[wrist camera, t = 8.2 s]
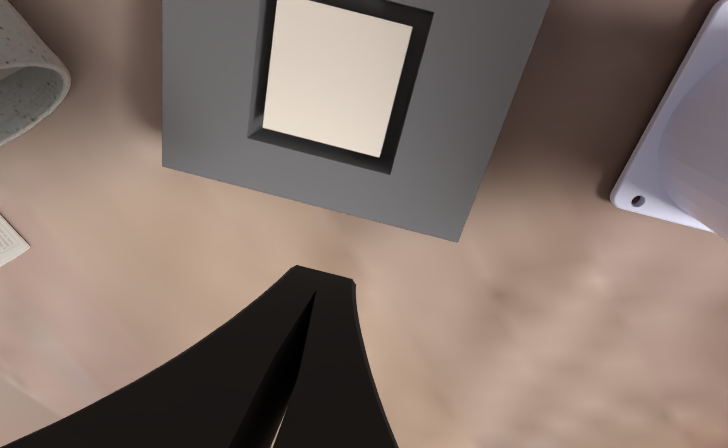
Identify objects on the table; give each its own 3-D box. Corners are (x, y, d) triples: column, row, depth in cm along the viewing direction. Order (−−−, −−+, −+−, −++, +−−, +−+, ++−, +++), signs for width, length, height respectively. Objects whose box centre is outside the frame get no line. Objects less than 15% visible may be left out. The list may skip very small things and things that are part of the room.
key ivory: (412, 26, 15) (412, 26, 13) (383, 143, 17) (379, 157, 15) (294, -4, 15) (278, -8, 13) (279, 116, 17) (262, 127, 15)
